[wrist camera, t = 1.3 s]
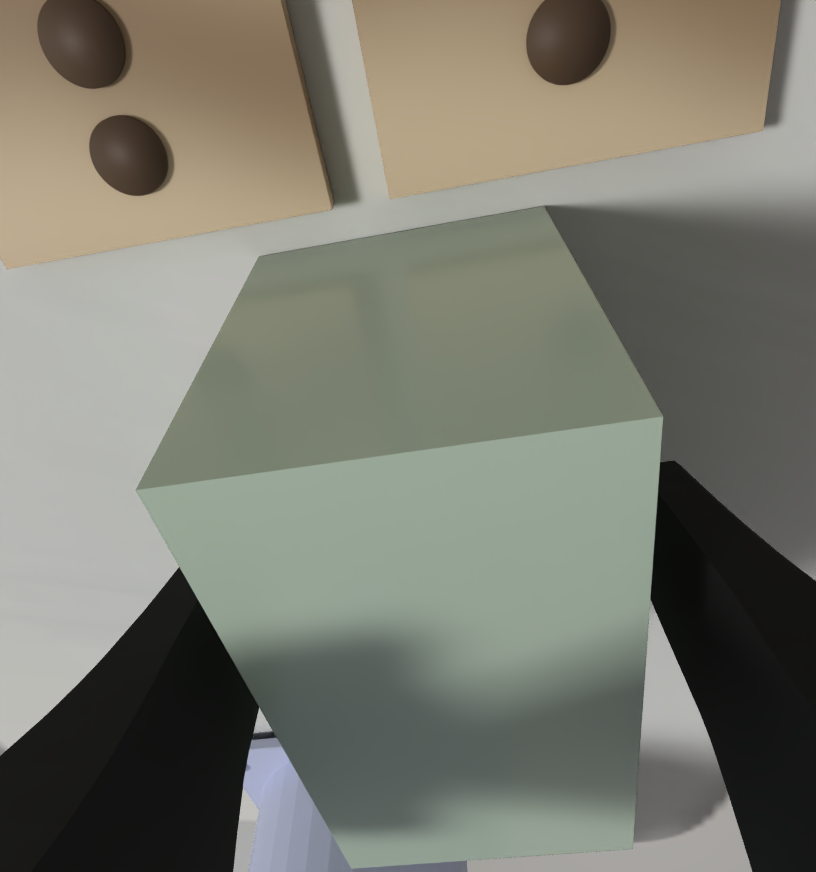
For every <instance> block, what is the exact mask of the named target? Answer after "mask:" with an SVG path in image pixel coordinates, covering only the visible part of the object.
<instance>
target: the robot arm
mask: <svg viewBox="0 0 816 872" xmlns="http://www.w3.org/2000/svg"><path fill="white" fill-rule="evenodd" d="M650 599H651V601H652V604H653V606H654V608H655V611H656V613H657V615H658V618H659V620H660V622H661V625H662V627H663V629H664V632H665V634H666V636H667V639H668V641H669V643H670V645H671V648H672V650H673V652H674V655H675V657H676V659H677V661H678V664H679V666H680V668H681V671H682V673H683V675H684V677H685V680H686V682H687V684H688V686H689V689H690V691H691V693H692V696H693V698H694V700H695V702H696V705H697V707H698V709H699V712H700V714H701V717H702V719H703V722H704V724H705V727H706V729H707V732H708V734H709V737H710V740H711V743H712V746H713V749H714V752H715V755H716V758H717V761H718V764H719V767H720V770H721V773H722V776H723V779H724V782H725V785H726V788H727V791H728V794H729V797H730V801H731V804H732V807H733V810H734V813H735V817H736V819H737V823H738V826H739V829H740V832H741V835H742V839H743V842H744V845H745V849H746V852H747V855H748V858H749V861H750V865H751V868H752V872H816V581H815V580H814V579H812V578H811V577H810V576H808V575H807V574H806V573H804V572H803V571H802V570H800V569H799V568H798V567H796V566H795V565H794V564H793V563H791V562H790V561H789V560H788V559H786V558H785V557H784V556H783V555H781V554H780V553H779V552H777V551H776V550H775V549H774V548H773V547H771V546H770V545H769V544H768V543H767V542H765V541H764V540H763V539H762V538H761V537H759V536H758V535H757V534H756V533H755V532H753V531H752V530H751V529H750V528H749V527H748V526H746V525H745V524H744V523H743V522H742V521H741V520H739V519H738V518H737V517H736V516H735V515H734V514H733V513H731V512H730V511H729V510H728V509H727V508H726V507H725V506H724V505H723V504H721V503H720V502H719V501H718V500H717V499H716V498H715V497H714V496H713V495H712V494H710V493H709V492H708V491H707V490H706V489H705V488H704V487H703V486H702V485H701V484H700V483H699V482H698V481H696V480H695V479H694V478H693V477H692V476H691V475H690V474H689V473H688V472H687V471H686V470H685V469H684V468H683V467H682V466H681V465H679V464H678V463H677V462H675V461H668V462H660V469H659V483H658V497H657V511H656V526H655V540H654V554H653V568H652V582H651V596H650ZM258 710H259V706H258V704H257V702H256V700H255V699H254V697H253V695H252V693H251V692H250V690H249V688H248V686H247V685H246V683H245V681H244V679H243V678H242V676H241V674H240V672H239V671H238V669H237V667H236V665H235V664H234V662H233V660H232V658H231V657H230V655H229V653H228V651H227V650H226V648H225V646H224V644H223V643H222V641H221V639H220V637H219V636H218V634H217V632H216V630H215V629H214V627H213V625H212V623H211V621H210V620H209V618H208V616H207V614H206V613H205V611H204V609H203V607H202V606H201V604H200V602H199V600H198V599H197V597H196V595H195V593H194V592H193V590H192V588H191V586H190V585H189V583H188V581H187V579H186V578H185V576H184V574H183V572H182V571H181V569H180V567H179V568H178V569H177V571H176V572H175V573H174V574H173V576H172V577H171V578H170V579H169V581H168V582H167V583H166V584H165V586H164V587H163V588H162V589H161V591H160V592H159V593H158V594H157V596H156V597H155V598H154V599H153V601H152V602H151V603H150V604H149V606H148V607H147V608H146V609H145V610H144V612H143V613H142V614H141V615H140V616H139V617H138V619H137V620H136V621H135V622H134V623H133V624H132V625H131V627H130V628H129V629H128V630H127V631H126V632H125V633H124V635H123V636H122V637H121V638H120V639H119V640H118V641H117V643H116V644H115V645H114V646H113V647H112V648H111V649H110V651H109V652H108V653H107V654H106V655H105V656H104V657H103V658H102V660H101V661H100V662H99V663H98V664H97V665H96V666H95V667H94V668H93V669H92V670H91V671H90V672H89V673H88V674H87V675H86V676H85V677H84V678H83V680H82V681H81V682H80V683H79V684H78V685H77V686H76V687H75V688H74V689H73V690H72V691H70V692H69V693H68V694H67V695H66V696H65V697H64V698H63V699H62V700H61V701H60V702H59V703H58V704H57V705H56V706H55V707H54V708H53V709H52V710H51V711H50V712H49V713H48V714H47V715H46V716H45V717H44V718H43V719H41V720H40V721H39V722H38V723H37V724H36V725H35V726H34V727H32V728H31V729H30V730H29V731H28V732H27V733H26V734H25V735H23V736H22V737H21V738H20V739H19V740H18V741H17V742H15V743H14V744H13V745H12V746H11V747H10V748H9V749H8V750H6V751H5V752H4V753H3V754H2V755H1V756H0V872H233V868H234V857H235V848H236V838H237V829H238V822H239V814H240V806H241V798H242V790H243V788H244V789H245V791H246V792H247V793H248V795H249V796H250V798H251V799H252V801H253V802H254V804H255V805H256V807H257V808H258V809H259V813H258V819H257V824H256V830H255V835H254V841H253V846H252V852H251V858H250V864H249V869H248V872H467V861H454V862H440V863H426V864H412V865H397V866H383V867H369V868H355V869H351V867H350V865H349V864H348V862H347V860H346V858H345V857H344V855H343V853H342V851H341V850H340V848H339V846H338V844H337V843H336V841H335V839H334V837H333V836H332V834H331V832H330V830H329V829H328V827H327V825H326V823H325V821H324V820H323V818H322V816H321V814H320V813H319V811H318V809H317V807H316V806H315V804H314V802H313V800H312V799H311V797H310V795H309V793H308V792H307V790H306V788H305V786H304V785H303V783H302V781H301V779H300V778H299V776H298V774H297V772H296V771H295V769H294V767H293V765H292V764H291V762H290V760H289V758H288V757H287V755H286V753H285V751H284V750H283V748H282V746H281V744H280V743H279V741H278V739H277V738H267V739H256V740H252V736H253V732H254V727H255V723H256V719H257V714H258Z"/></svg>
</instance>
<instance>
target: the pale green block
mask: <svg viewBox="0 0 816 872" xmlns="http://www.w3.org/2000/svg"><path fill="white" fill-rule="evenodd" d="M662 426H663V415H662V413H661V412H660V410H659V408H658V406H657V405H656V403H655V401H654V399H653V398H652V396H651V394H650V392H649V391H648V389H647V387H646V385H645V383H644V382H643V380H642V378H641V376H640V375H639V373H638V371H637V369H636V368H635V366H634V364H633V362H632V361H631V359H630V357H629V355H628V353H627V352H626V350H625V348H624V346H623V345H622V343H621V341H620V339H619V338H618V336H617V334H616V332H615V331H614V329H613V327H612V325H611V324H610V322H609V320H608V318H607V316H606V315H605V313H604V311H603V309H602V308H601V306H600V304H599V302H598V301H597V299H596V297H595V295H594V294H593V292H592V290H591V288H590V286H589V285H588V283H587V281H586V279H585V278H584V276H583V274H582V272H581V271H580V269H579V267H578V265H577V264H576V262H575V260H574V258H573V256H572V255H571V253H570V251H569V249H568V248H567V246H566V244H565V242H564V241H563V239H562V237H561V235H560V234H559V232H558V230H557V228H556V226H555V225H554V223H553V221H552V219H551V218H550V216H549V214H548V212H547V211H546V209H545V207H544V206H542V207H536V208H531V209H525V210H519V211H514V212H508V213H502V214H497V215H491V216H485V217H480V218H474V219H469V220H463V221H457V222H452V223H446V224H440V225H435V226H429V227H423V228H418V229H412V230H407V231H401V232H395V233H390V234H384V235H378V236H373V237H367V238H361V239H356V240H350V241H345V242H339V243H333V244H328V245H322V246H316V247H311V248H305V249H299V250H294V251H288V252H283V253H277V254H271V255H266V256H260V257H258V259H257V261H256V263H255V265H254V267H253V269H252V270H251V272H250V274H249V276H248V278H247V280H246V282H245V284H244V286H243V288H242V289H241V291H240V293H239V295H238V297H237V299H236V301H235V303H234V305H233V307H232V308H231V310H230V312H229V314H228V316H227V318H226V320H225V322H224V324H223V326H222V327H221V329H220V331H219V333H218V335H217V337H216V339H215V341H214V343H213V344H212V346H211V348H210V350H209V352H208V354H207V356H206V358H205V360H204V362H203V363H202V365H201V367H200V369H199V371H198V373H197V375H196V377H195V379H194V381H193V382H192V384H191V386H190V388H189V390H188V392H187V394H186V396H185V398H184V400H183V401H182V403H181V405H180V407H179V409H178V411H177V413H176V415H175V417H174V418H173V420H172V422H171V424H170V426H169V428H168V430H167V432H166V434H165V436H164V437H163V439H162V441H161V443H160V445H159V447H158V449H157V451H156V453H155V455H154V456H153V458H152V460H151V462H150V464H149V466H148V468H147V470H146V472H145V473H144V475H143V477H142V479H141V481H140V483H139V485H138V487H137V489H136V492H137V493H138V495H139V497H140V499H141V500H142V502H143V504H144V506H145V507H146V509H147V511H148V513H149V514H150V516H151V518H152V520H153V522H154V523H155V525H156V527H157V529H158V530H159V532H160V534H161V536H162V537H163V539H164V541H165V543H166V544H167V546H168V548H169V550H170V551H171V553H172V555H173V557H174V558H175V560H176V562H177V564H178V565H179V567H180V569H181V571H182V572H183V574H184V576H185V578H186V579H187V581H188V583H189V585H190V586H191V588H192V590H193V592H194V593H195V595H196V597H197V599H198V600H199V602H200V604H201V606H202V607H203V609H204V611H205V613H206V614H207V616H208V618H209V620H210V621H211V623H212V625H213V627H214V629H215V630H216V632H217V634H218V636H219V637H220V639H221V641H222V643H223V644H224V646H225V648H226V650H227V651H228V653H229V655H230V657H231V658H232V660H233V662H234V664H235V665H236V667H237V669H238V671H239V672H240V674H241V676H242V678H243V679H244V681H245V683H246V685H247V686H248V688H249V690H250V692H251V693H252V695H253V697H254V699H255V700H256V702H257V704H258V706H259V707H260V709H261V711H262V713H263V714H264V716H265V718H266V720H267V721H268V723H269V725H270V727H271V729H272V730H273V732H274V734H275V736H276V737H277V739H278V741H279V743H280V744H281V746H282V748H283V750H284V751H285V753H286V755H287V757H288V758H289V760H290V762H291V764H292V765H293V767H294V769H295V771H296V772H297V774H298V776H299V778H300V779H301V781H302V783H303V785H304V786H305V788H306V790H307V792H308V793H309V795H310V797H311V799H312V800H313V802H314V804H315V806H316V807H317V809H318V811H319V813H320V814H321V816H322V818H323V820H324V821H325V823H326V825H327V827H328V829H329V830H330V832H331V834H332V836H333V837H334V839H335V841H336V843H337V844H338V846H339V848H340V850H341V851H342V853H343V855H344V857H345V858H346V860H347V862H348V864H349V865H350V867H351V869H355V868H369V867H383V866H397V865H412V864H426V863H440V862H454V861H467V860H468V861H469V860H482V859H497V858H510V857H526V856H540V855H554V854H568V853H583V852H597V851H611V850H624V849H625V850H626V849H633V837H634V823H635V809H636V795H637V781H638V766H639V752H640V738H641V724H642V710H643V696H644V681H645V667H646V653H647V639H648V625H649V611H650V596H651V582H652V568H653V554H654V540H655V526H656V511H657V497H658V483H659V469H660V455H661V441H662Z"/></svg>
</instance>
